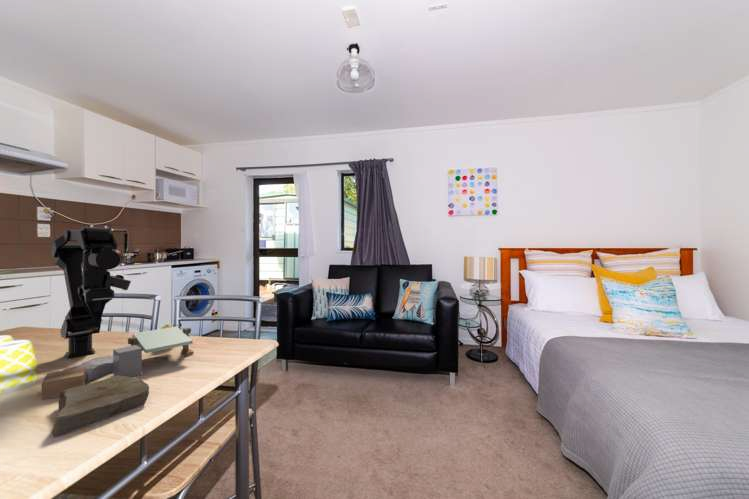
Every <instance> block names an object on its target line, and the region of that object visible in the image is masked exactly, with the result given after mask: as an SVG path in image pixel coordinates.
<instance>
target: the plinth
mask: <svg viewBox="0 0 749 499" xmlns="http://www.w3.org/2000/svg"><path fill="white" fill-rule="evenodd" d="M86 383H87V382H86V367H80V368H74V369H68V370H63V369H61V370H57V371H52V372H47V373H46V375H45V377H43V380H42V381H41V401H43V400H48V399H53V398H60V393H61V392H62V391H63V390H67V389H70V388H74V387H78V386H82V385H86Z"/></svg>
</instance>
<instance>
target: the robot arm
mask: <svg viewBox="0 0 749 499" xmlns="http://www.w3.org/2000/svg"><path fill="white" fill-rule="evenodd" d="M68 242H78V243H77V244H75V243H69V244H68ZM117 249H118V242H117V240H116V238H115V236H114V233H113V231H111V230H110V228H108V227H98V226H97V227H93V226H91V227H90V226H82V227H80V228H78V229H72V228H71V229H65V230H64V231H63V234H62V235H61V236H60V237H58V238H56V239H54V241H53V244H52V247H51V250H50V252H51V253H50V255H51V257H52V258H53V260H54V264H55V265H56V266H57V267H58V268H60V269H62V271H63V276H64V281H65V282H64V283H65V286H66V292H67V298H68V303H69V304H68V305H69V310H68V312H67V314H66V315H65V316H64V320H63V323H62V325H61V327H60V337H61V338H63V339H65V340H66V339H67V341H68V345H67V346H68V349H67V351H66V352H65V356H66V358H68V359H70V358H75V357H81V356H86V355H91V354H95V353H96V351H95V349H94V348H93V334H94V335H95V334H100V331H101V325H102V322H103V319H102V317H103V313H104V309H105V307H106V305H107V303H109V302H110V301H113V299H114V298H115V290H114V289H112V288H117V289H122V291H128V290H129V288H130V285H131V283H132V280H129V279H125V277H124V275H121V274H116V275H115V276H112V275H111V272H110V271H109V270H113V269H115V268H116V267H118V266H119V265H120V262H121V257H120V254H119V253H118V252H116V251H115V250H117ZM111 287H112V288H111Z"/></svg>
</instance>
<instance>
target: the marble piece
mask: <svg viewBox="0 0 749 499" xmlns="http://www.w3.org/2000/svg"><path fill="white" fill-rule="evenodd" d="M149 395H150V386H149V384H148V383H146V382H145V381H144V380H143V379H141V378H139V377H135V378H133V377H126V376H114V377H113V376H111V377H107V378H105V379H101V380H97V381H94V382H91V383H87V384H86V383H85V385H82V386H78V387H74V388H70V389H67V390H63V391H62V392H61V393H60V396H59V400H58V413H57V416H56V418H55V421H54V422H55V423H54V424H53V428H52V431H51V434H52V435H53V436H54V437H60V436H63V435H66V434H68V433H71V432H75V431H77V430H80V429H83V428H85V427H88V426H91V425H93V424H96V423H99V422H102V421H104V420H108V419H110V418H112V417H116V416H118V415H121V414H123V413H126V412H128V411H131V410H134V409H138V408H140V407H142V406H145V405H146V404H145V403H146V402H147V400H148V397H149Z"/></svg>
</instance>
